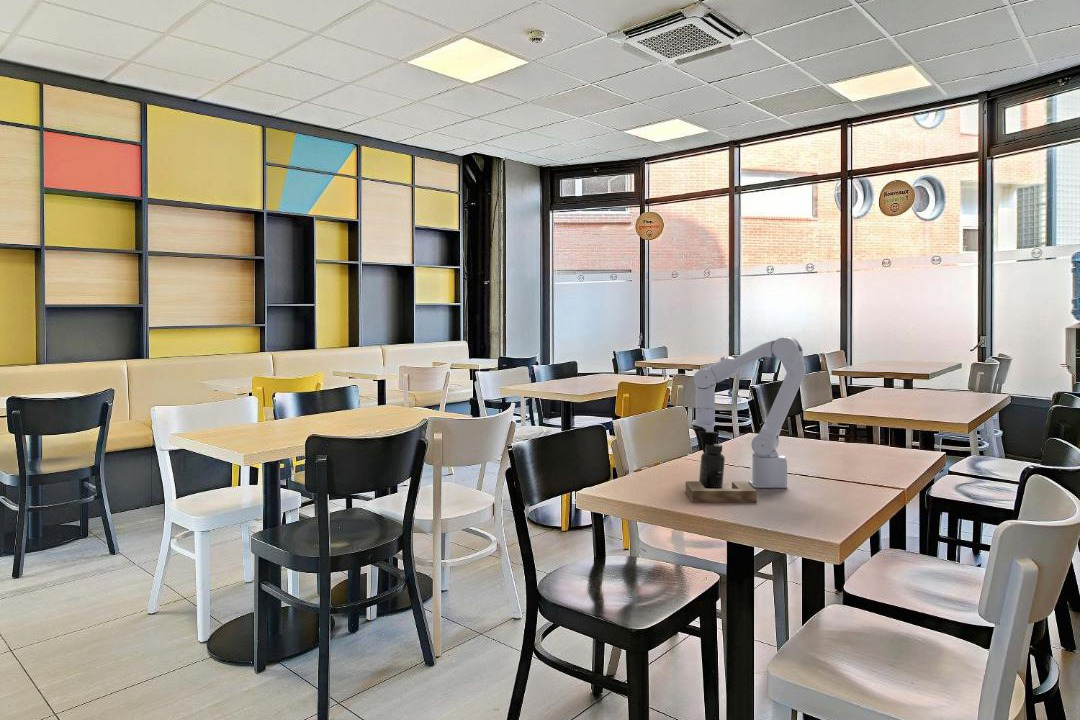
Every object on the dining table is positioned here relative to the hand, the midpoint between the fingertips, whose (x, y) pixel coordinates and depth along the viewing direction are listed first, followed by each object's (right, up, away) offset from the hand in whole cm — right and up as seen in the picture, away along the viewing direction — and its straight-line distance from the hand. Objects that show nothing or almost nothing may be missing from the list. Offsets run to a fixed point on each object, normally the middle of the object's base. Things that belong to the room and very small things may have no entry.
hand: (705, 452), depth 213 cm
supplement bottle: (0, -9, -8) cm, 12 cm away
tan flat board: (-1, -9, -21) cm, 23 cm away
